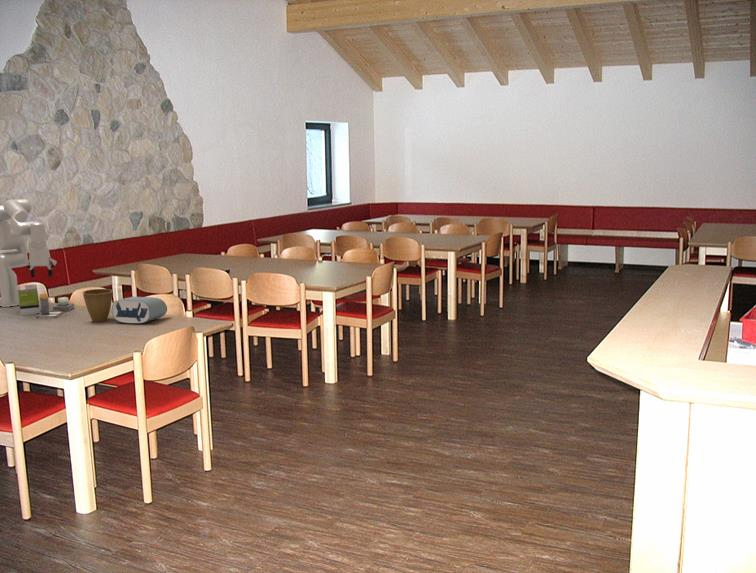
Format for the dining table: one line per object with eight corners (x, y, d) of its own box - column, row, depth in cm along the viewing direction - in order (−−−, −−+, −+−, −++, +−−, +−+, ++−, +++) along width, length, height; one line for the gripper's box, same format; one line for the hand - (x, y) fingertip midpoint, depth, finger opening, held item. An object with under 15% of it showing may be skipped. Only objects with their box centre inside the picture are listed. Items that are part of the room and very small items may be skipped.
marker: (43, 313, 423) (41, 293, 421) (50, 313, 423) (48, 293, 421) (40, 315, 419) (38, 295, 417) (48, 315, 419) (46, 294, 417)
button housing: (58, 308, 440) (57, 303, 440) (74, 308, 441) (73, 303, 441) (53, 311, 432) (52, 306, 431) (69, 311, 432) (68, 306, 432)
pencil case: (112, 323, 399) (111, 299, 398) (132, 317, 418) (131, 294, 416) (150, 324, 394) (149, 300, 392) (168, 318, 412) (167, 295, 411)
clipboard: (44, 312, 430) (44, 310, 430) (64, 312, 431) (64, 309, 430) (35, 318, 416) (35, 315, 416) (56, 317, 417) (56, 314, 417)
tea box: (20, 310, 437) (17, 285, 434) (39, 309, 441) (36, 283, 438) (20, 315, 423) (17, 289, 421) (40, 313, 428) (37, 287, 425)
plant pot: (81, 324, 400) (78, 294, 397) (90, 317, 414) (88, 288, 411) (109, 323, 400) (107, 293, 397) (118, 317, 415) (116, 288, 412)
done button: (60, 304, 438) (59, 297, 437) (69, 303, 438) (68, 297, 438) (57, 305, 433) (56, 299, 432) (66, 305, 434) (65, 298, 433)
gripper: (19, 246, 410) (23, 278, 413) (53, 245, 411) (56, 277, 414) (25, 244, 417) (28, 276, 420) (57, 244, 419) (60, 275, 422)
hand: (41, 276), depth 417 cm, fingers open, 8 cm apart
